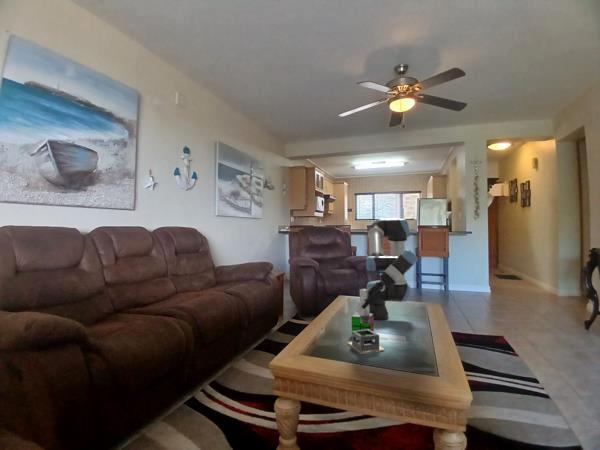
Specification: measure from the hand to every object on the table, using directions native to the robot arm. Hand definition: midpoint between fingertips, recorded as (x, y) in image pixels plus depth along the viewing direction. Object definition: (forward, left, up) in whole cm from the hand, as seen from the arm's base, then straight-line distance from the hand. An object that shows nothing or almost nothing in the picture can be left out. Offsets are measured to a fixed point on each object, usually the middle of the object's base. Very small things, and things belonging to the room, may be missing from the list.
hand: (356, 311), depth 145 cm
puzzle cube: (-18, +13, -18) cm, 28 cm away
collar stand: (+1, +4, -17) cm, 18 cm away
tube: (+1, +4, -6) cm, 7 cm away
